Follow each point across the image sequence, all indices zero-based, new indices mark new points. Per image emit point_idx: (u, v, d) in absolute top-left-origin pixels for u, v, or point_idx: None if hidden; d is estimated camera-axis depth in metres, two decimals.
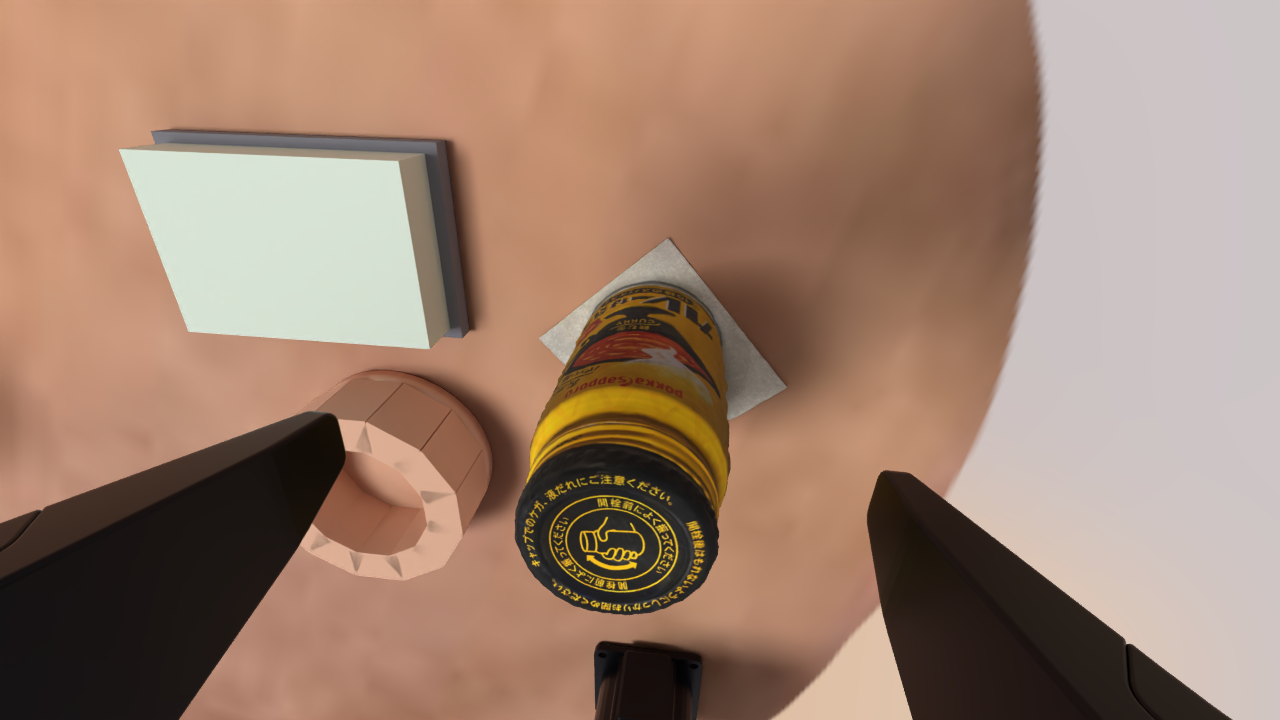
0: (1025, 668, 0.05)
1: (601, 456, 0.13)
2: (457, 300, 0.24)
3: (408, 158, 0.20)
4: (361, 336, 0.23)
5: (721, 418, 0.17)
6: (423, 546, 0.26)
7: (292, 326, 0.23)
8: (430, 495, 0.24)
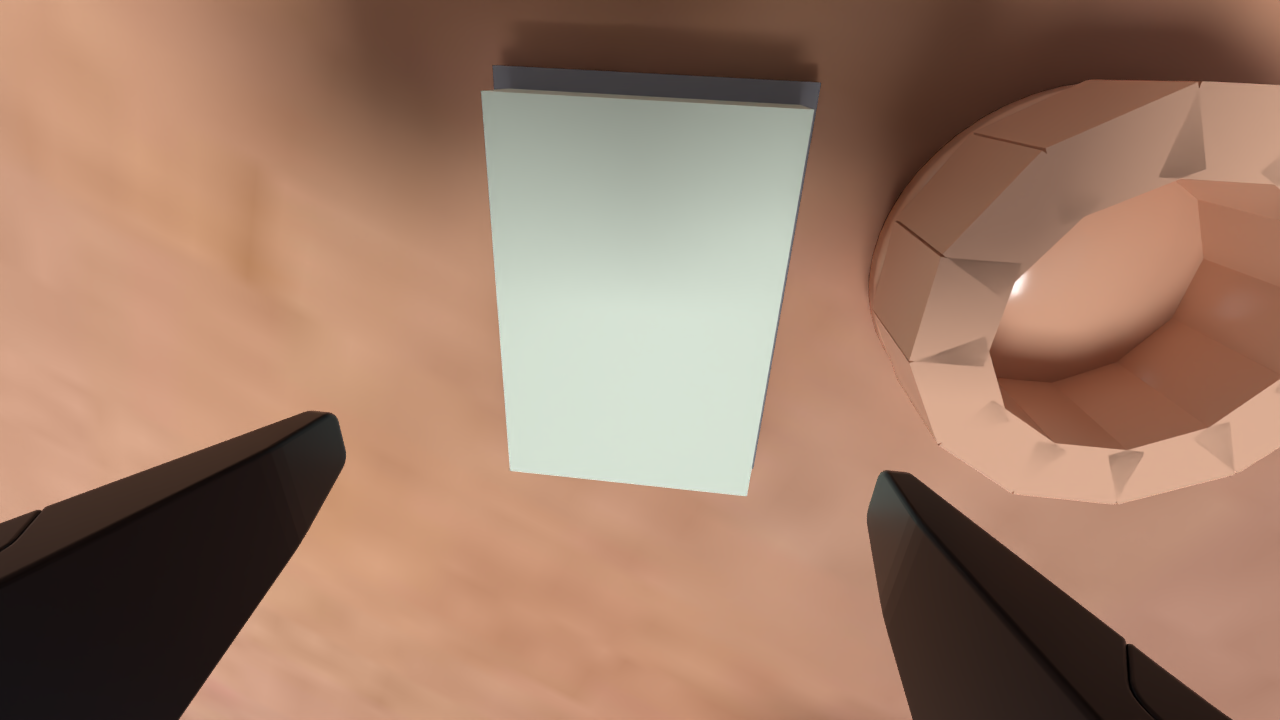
0: (1025, 668, 0.05)
1: None
2: None
3: (493, 91, 0.13)
4: (776, 240, 0.13)
5: None
6: None
7: (749, 350, 0.14)
8: (1182, 154, 0.10)
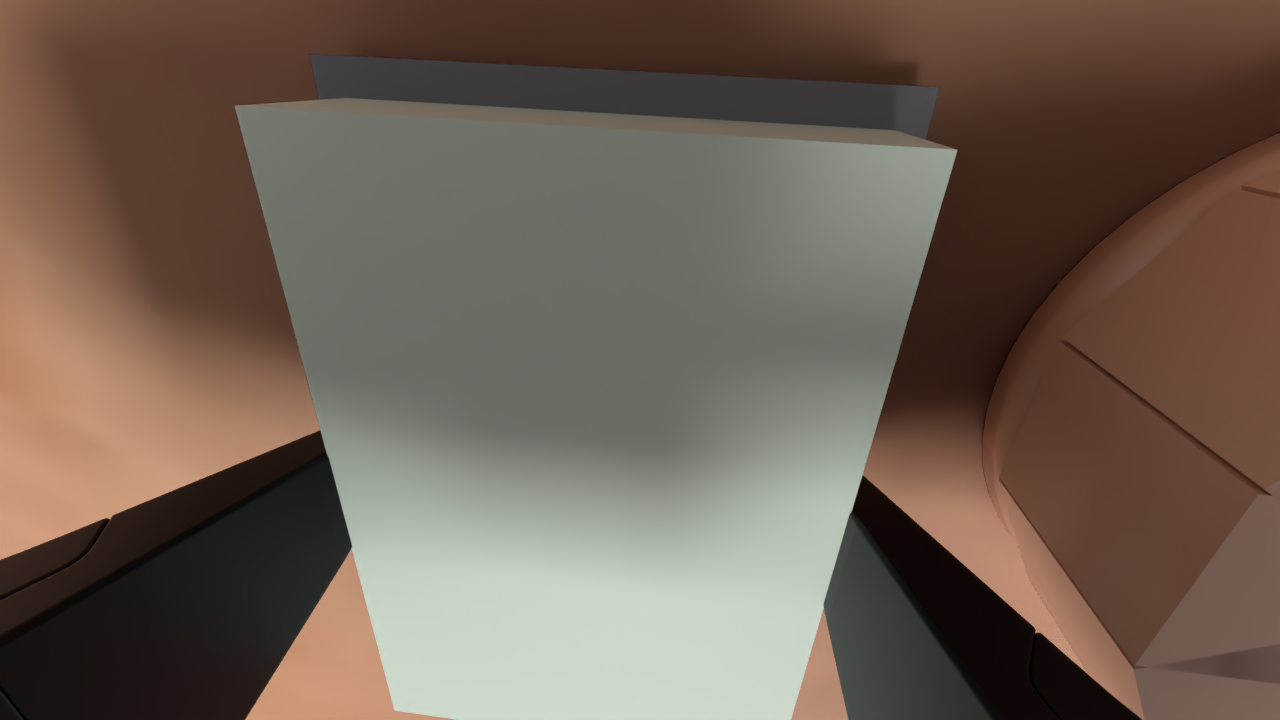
0: (933, 656, 0.05)
1: None
2: (792, 79, 0.07)
3: None
4: (853, 402, 0.07)
5: None
6: None
7: (789, 574, 0.08)
8: None
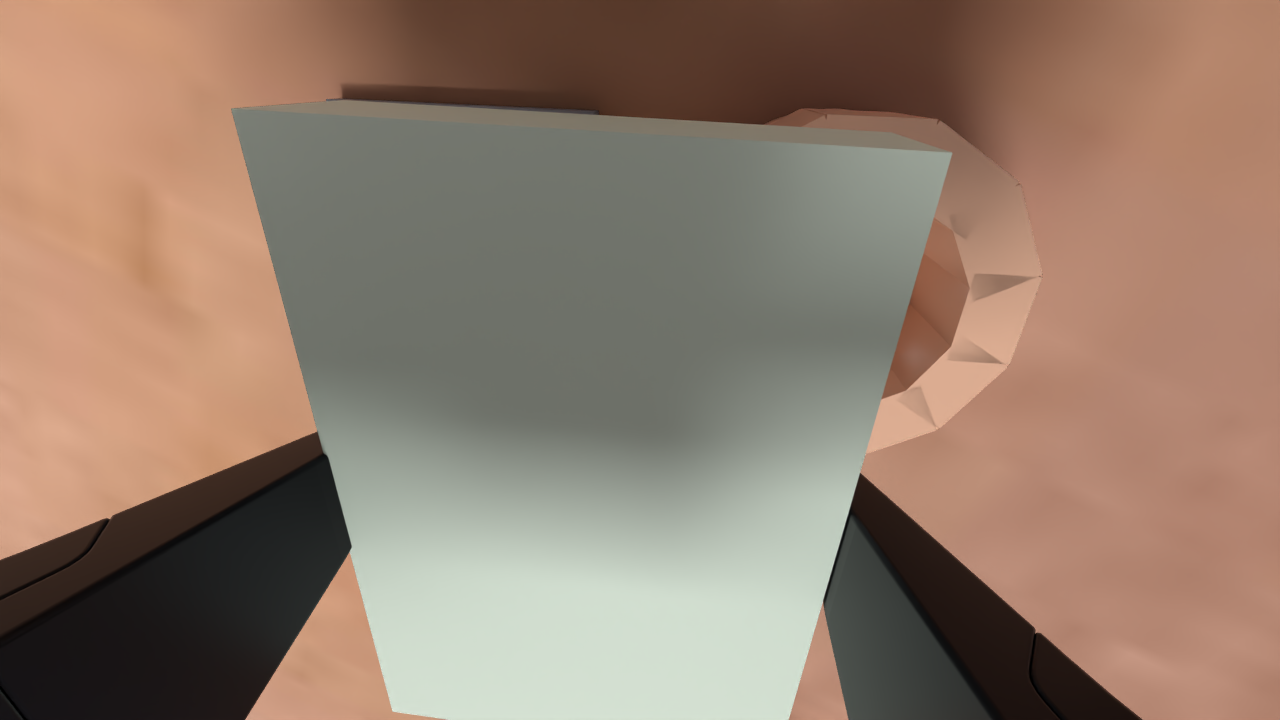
0: (933, 656, 0.05)
1: None
2: (535, 109, 0.16)
3: (283, 107, 0.06)
4: (849, 404, 0.07)
5: None
6: (956, 213, 0.13)
7: (786, 576, 0.08)
8: None
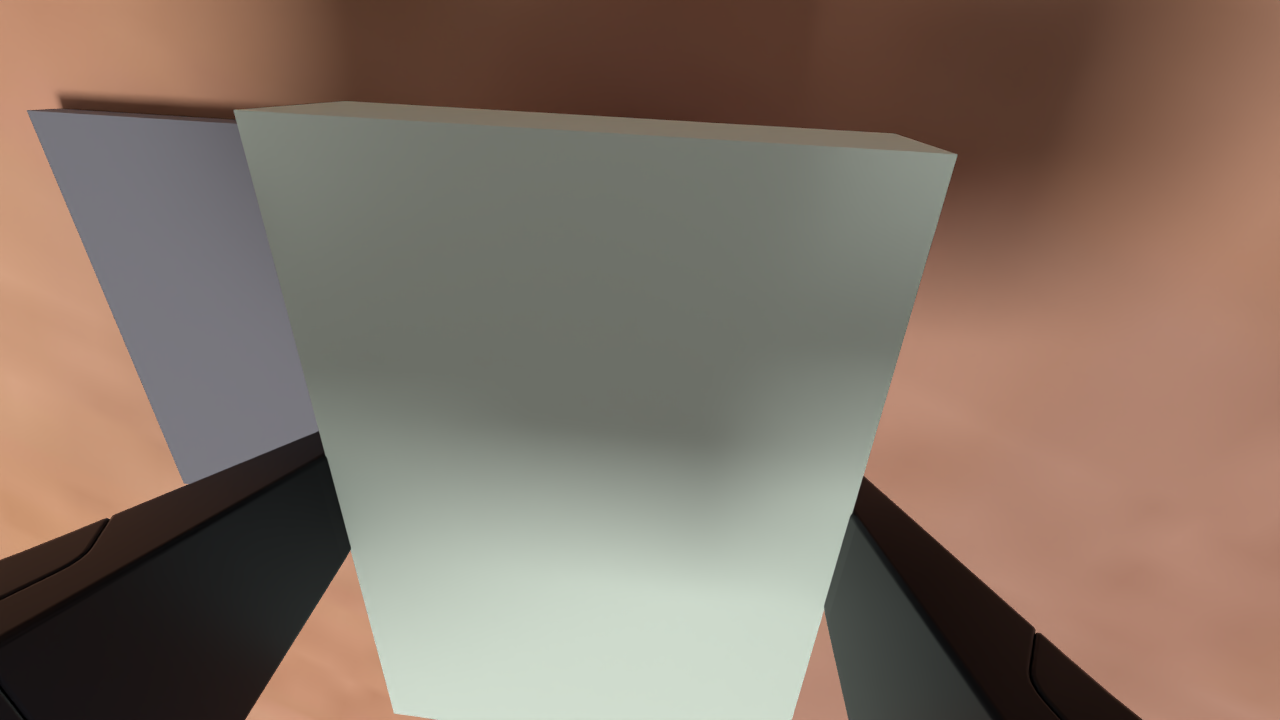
0: (933, 656, 0.05)
1: None
2: None
3: (285, 108, 0.06)
4: (853, 407, 0.07)
5: None
6: None
7: (789, 578, 0.08)
8: None
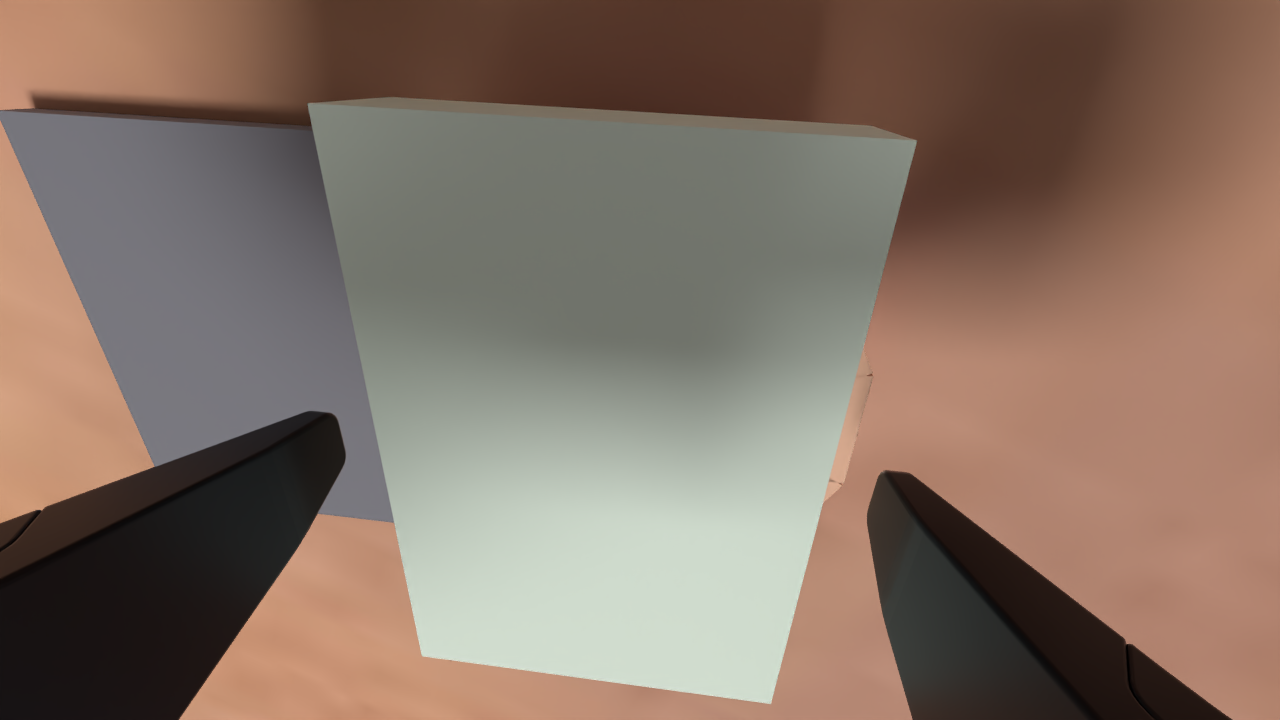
0: (1025, 668, 0.05)
1: None
2: (253, 126, 0.12)
3: (345, 102, 0.07)
4: (833, 360, 0.08)
5: None
6: None
7: (780, 519, 0.09)
8: None
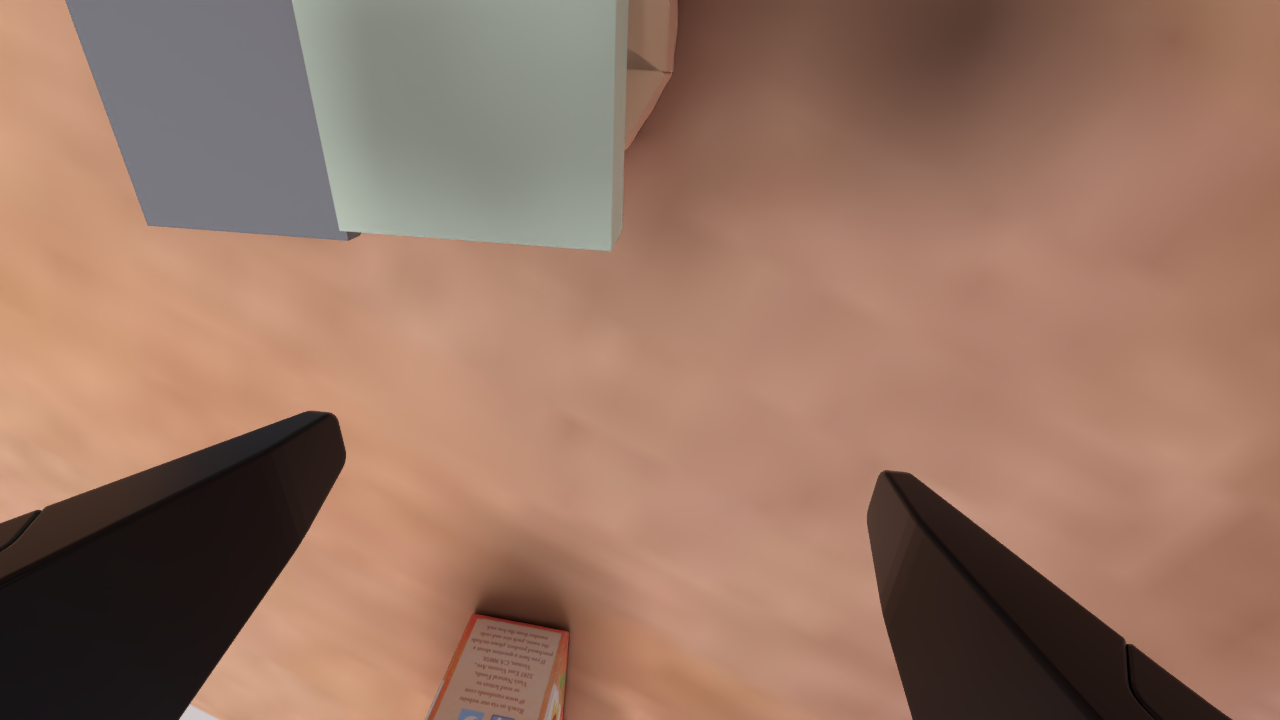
0: (1025, 668, 0.05)
1: None
2: None
3: None
4: None
5: None
6: None
7: (588, 30, 0.12)
8: None
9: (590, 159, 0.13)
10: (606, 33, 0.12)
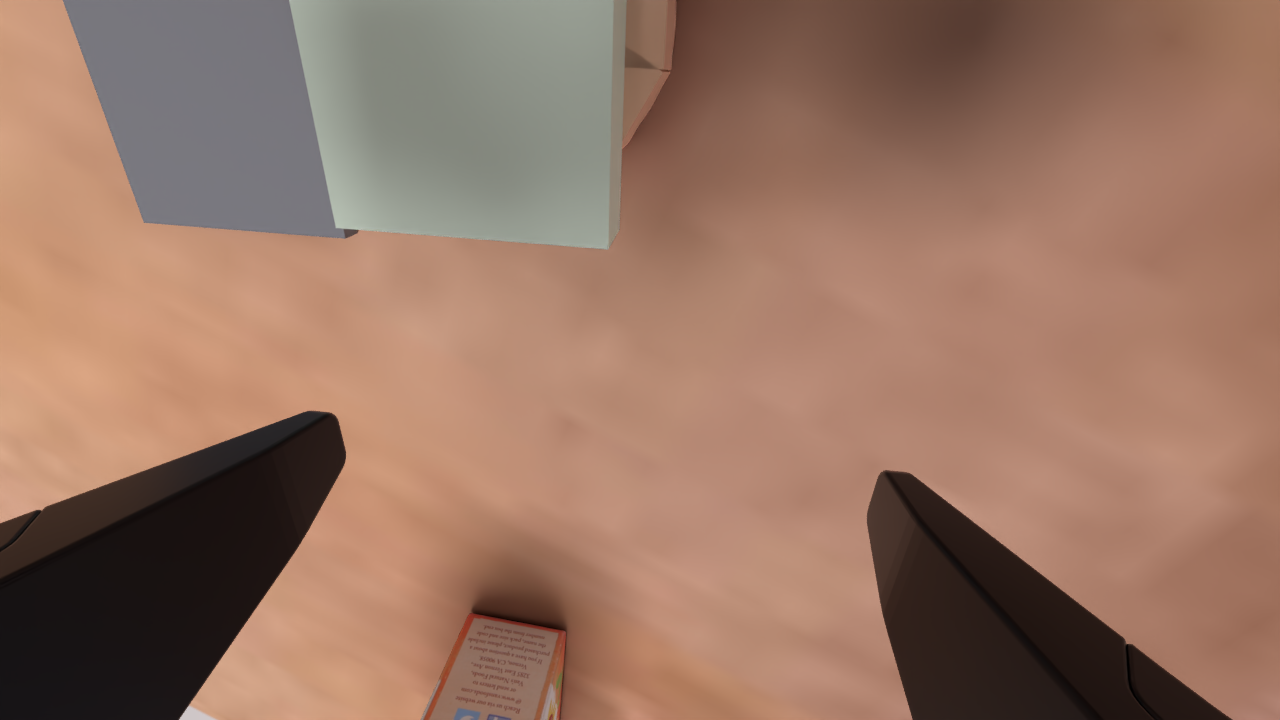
0: (1025, 668, 0.05)
1: None
2: None
3: None
4: None
5: None
6: None
7: (585, 27, 0.12)
8: None
9: (587, 157, 0.13)
10: (604, 30, 0.12)
